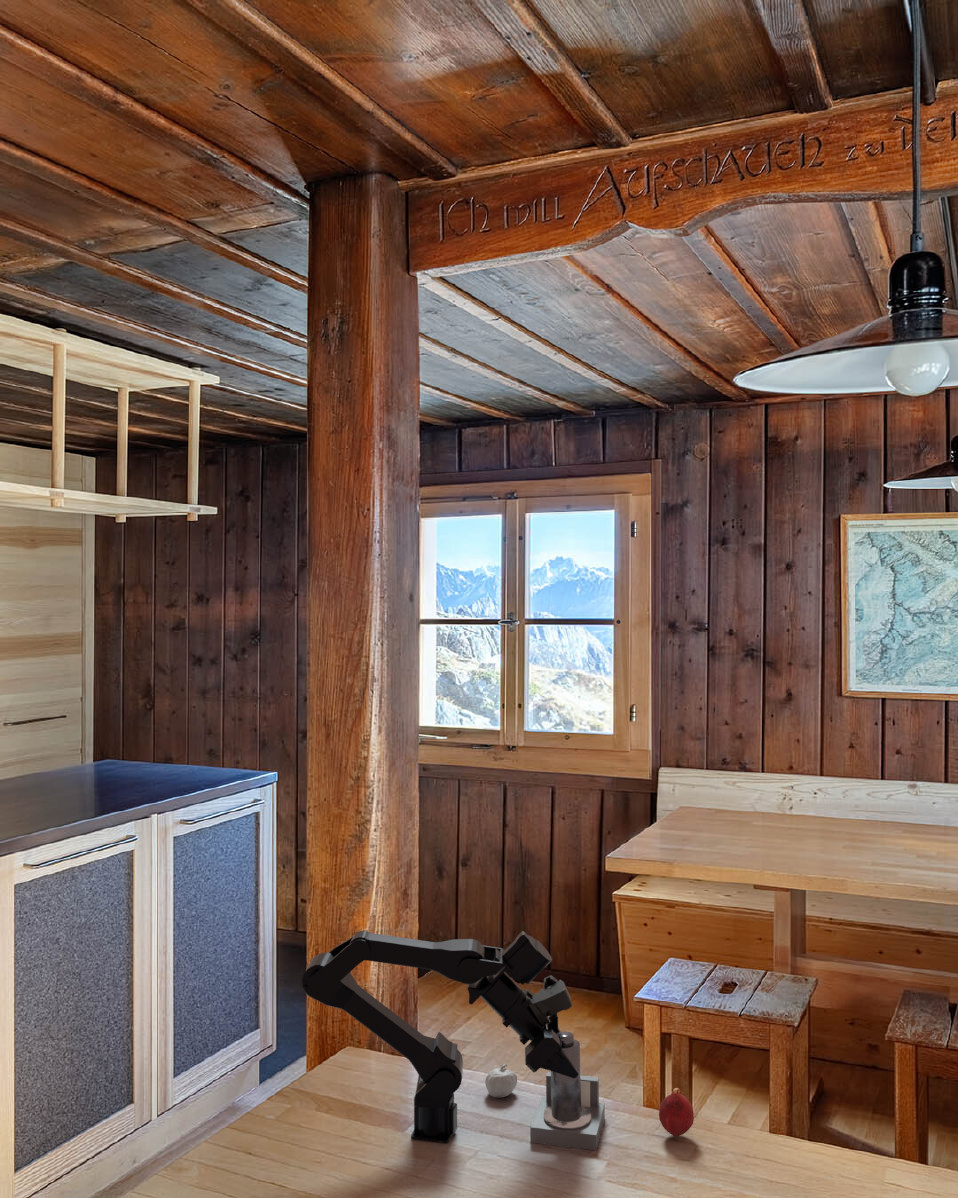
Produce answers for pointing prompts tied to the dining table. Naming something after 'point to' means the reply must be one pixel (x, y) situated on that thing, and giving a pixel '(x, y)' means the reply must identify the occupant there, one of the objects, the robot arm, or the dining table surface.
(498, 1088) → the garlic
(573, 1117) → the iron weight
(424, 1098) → the robot arm
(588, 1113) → the scale pan
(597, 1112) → the scale
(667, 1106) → the onion
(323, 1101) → the dining table surface
